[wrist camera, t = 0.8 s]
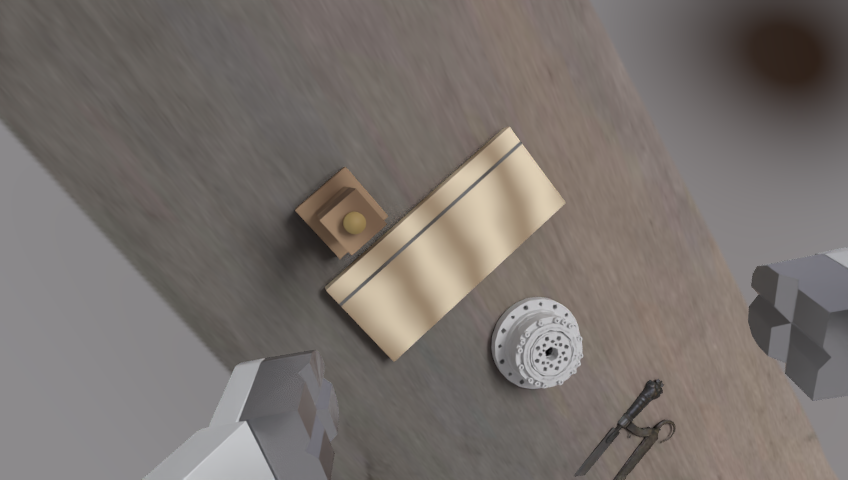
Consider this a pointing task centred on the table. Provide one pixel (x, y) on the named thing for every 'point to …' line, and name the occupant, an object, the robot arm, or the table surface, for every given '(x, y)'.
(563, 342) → the mechanical component
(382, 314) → the plank
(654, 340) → the table surface
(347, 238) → the wooden peg post
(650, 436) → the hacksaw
